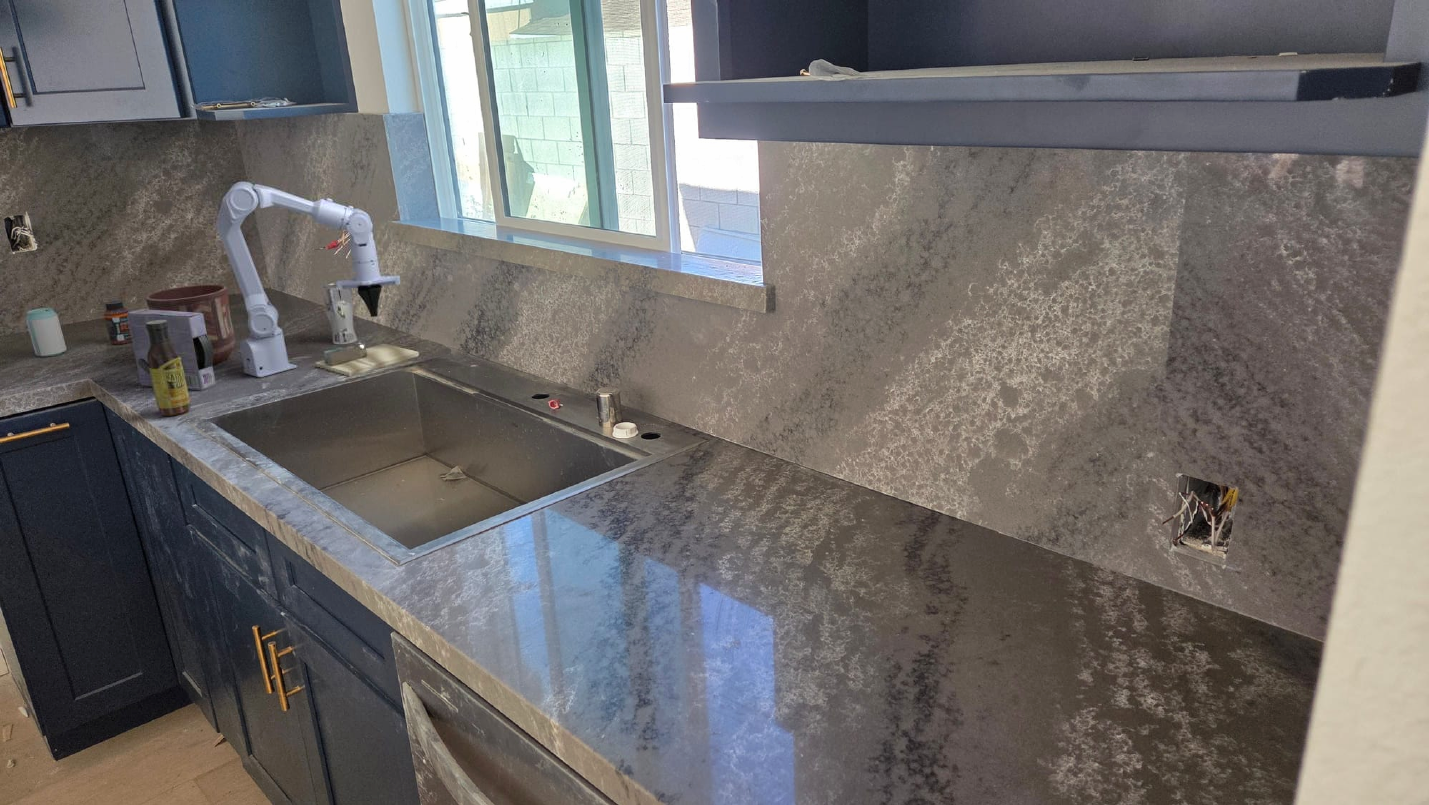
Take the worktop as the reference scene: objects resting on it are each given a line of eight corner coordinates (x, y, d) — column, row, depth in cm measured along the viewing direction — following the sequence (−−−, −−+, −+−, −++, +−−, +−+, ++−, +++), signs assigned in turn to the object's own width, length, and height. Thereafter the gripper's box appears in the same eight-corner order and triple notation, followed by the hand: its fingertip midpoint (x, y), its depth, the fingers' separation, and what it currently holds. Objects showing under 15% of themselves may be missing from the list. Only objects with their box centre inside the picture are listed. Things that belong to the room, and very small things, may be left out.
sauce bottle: (178, 417, 211) (156, 326, 204) (152, 417, 212) (130, 326, 205) (199, 407, 217) (178, 318, 210) (174, 406, 218) (152, 317, 211)
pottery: (202, 374, 241) (186, 300, 235) (146, 370, 246) (129, 298, 241) (256, 354, 257) (242, 284, 251) (202, 350, 262) (187, 283, 256)
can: (54, 349, 270) (42, 306, 266) (73, 351, 268) (61, 307, 264) (30, 357, 264) (17, 313, 260) (49, 358, 262) (36, 314, 258)
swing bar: (363, 354, 246) (361, 340, 245) (369, 355, 245) (367, 342, 243) (327, 364, 239) (324, 350, 238) (332, 365, 238) (330, 352, 236)
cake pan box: (222, 384, 232) (205, 310, 226) (205, 391, 227) (188, 315, 222) (157, 380, 238) (139, 308, 232) (140, 387, 233) (121, 313, 227)
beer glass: (341, 346, 259) (330, 289, 254) (325, 342, 263) (315, 286, 258) (364, 339, 264) (354, 283, 259) (349, 336, 268) (339, 281, 263)
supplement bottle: (127, 344, 272) (117, 304, 268) (106, 345, 272) (95, 305, 268) (140, 338, 277) (130, 298, 274) (119, 339, 278) (108, 299, 274)
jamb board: (349, 376, 233) (347, 360, 232) (315, 366, 242) (312, 351, 241) (418, 355, 246) (416, 340, 245) (384, 347, 256) (381, 332, 254)
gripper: (330, 266, 237) (340, 322, 241) (394, 261, 239) (403, 316, 243) (336, 261, 243) (345, 315, 248) (397, 256, 245) (406, 310, 250)
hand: (374, 315), depth 246 cm, fingers closed
